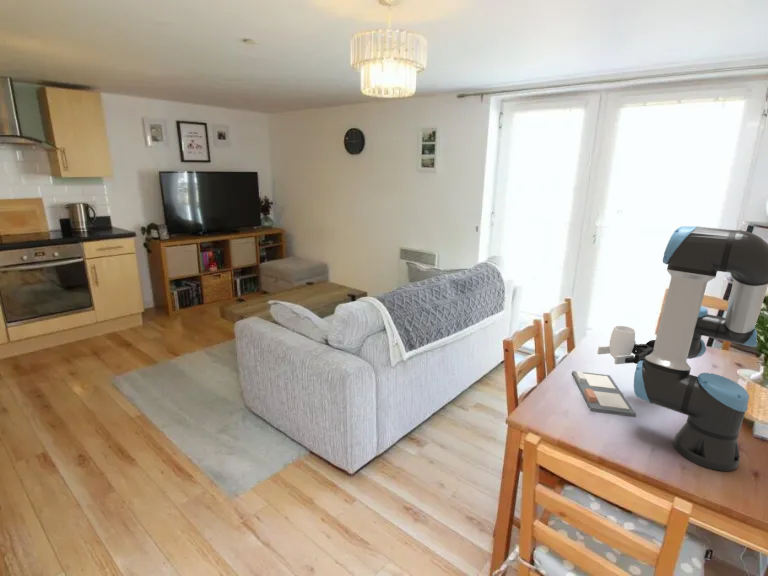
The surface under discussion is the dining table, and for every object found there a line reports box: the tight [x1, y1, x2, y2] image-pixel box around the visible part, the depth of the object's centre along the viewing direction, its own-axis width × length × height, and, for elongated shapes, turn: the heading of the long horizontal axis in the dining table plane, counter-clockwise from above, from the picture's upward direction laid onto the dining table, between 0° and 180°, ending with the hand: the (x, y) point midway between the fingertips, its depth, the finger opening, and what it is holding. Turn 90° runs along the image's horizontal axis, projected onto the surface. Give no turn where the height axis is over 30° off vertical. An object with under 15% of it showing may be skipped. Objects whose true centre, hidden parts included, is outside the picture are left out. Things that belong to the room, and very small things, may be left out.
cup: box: [609, 325, 636, 360], centre depth 140 cm, size 7×7×21 cm
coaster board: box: [571, 370, 637, 418], centre depth 151 cm, size 28×14×3 cm, turn 168°
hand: (607, 355), depth 139 cm, fingers closed on cup, 7 cm apart
